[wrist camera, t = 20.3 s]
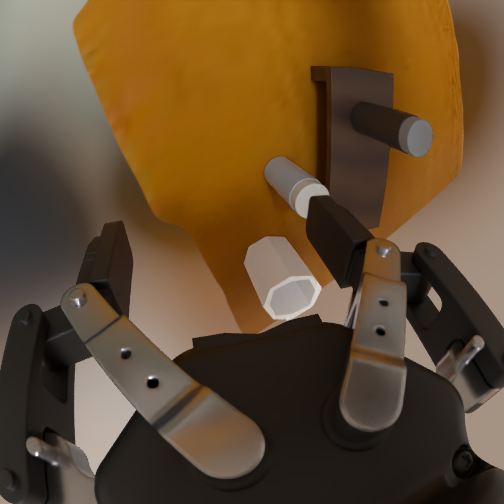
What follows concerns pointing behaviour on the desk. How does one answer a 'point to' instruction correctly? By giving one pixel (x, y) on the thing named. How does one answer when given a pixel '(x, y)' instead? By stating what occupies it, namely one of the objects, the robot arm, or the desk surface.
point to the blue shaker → (293, 184)
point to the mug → (280, 278)
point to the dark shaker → (393, 128)
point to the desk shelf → (355, 141)
